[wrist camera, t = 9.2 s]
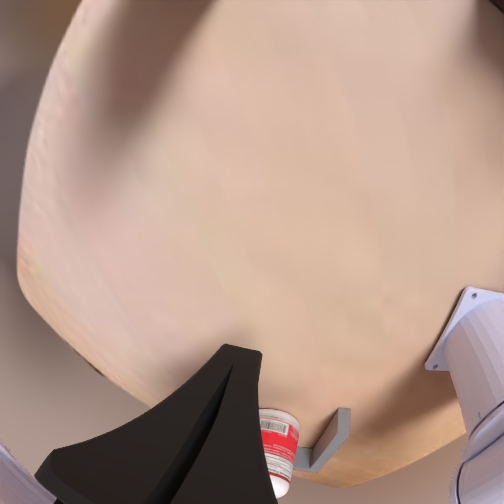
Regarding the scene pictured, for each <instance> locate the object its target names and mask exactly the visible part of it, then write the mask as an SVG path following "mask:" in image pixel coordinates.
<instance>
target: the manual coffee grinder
mask: <svg viewBox="0 0 504 504" xmlns="http://www.w3.org/2000/svg"><path fill="white" fill-rule="evenodd" d="M490 1H492V2H493V3H494V4H495V5H496V6H497V7H498V8H499V9H500V10H501V11H502V12H503V13H504V0H490Z"/></svg>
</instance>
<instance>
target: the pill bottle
mask: <svg viewBox="0 0 504 504" xmlns="http://www.w3.org/2000/svg"><path fill="white" fill-rule="evenodd" d="M259 418H260V427H261V434H262V441H263V447H264V452H265V457H266V462H267V466H268V471H269V475H270V478H271V482H272V485H273V489H274V492H275V496H276V498H279V497H282V496H283V495H285V494H286V493H287V491H288V489H289V485H290V481H291V476H292V471H293V466H294V461H295V455H296V450H297V444H298V438H299V431H300V425H299V423H298V421H297V420H296V419H295V418H294V417H293V416H292V415H290V414H288V413H286V412H283V411H280V410H274V409H259Z"/></svg>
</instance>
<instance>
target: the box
mask: <svg viewBox="0 0 504 504" xmlns="http://www.w3.org/2000/svg"><path fill="white" fill-rule="evenodd" d="M349 435H350V409H346V408H338V410H337V412H336V413H335V415H334V417H333V418H332V420H331V422H330V423H329V425H328V427H327V428H326V430H325V431H324V433H323V434H322V436H321V438H320V439H319V441H318V442H317V444H316V445H315V447H314V448H313V449H311V448H303V447H297V450H296V455H295V461H294V466H293V470H296V471H304V472H312V473H317V472H318V471H319V470H320V469H321V468H322V467H323V466H324V465H325V464H326V462H327V461H328V460H329V459H330V458H331V457H332V455H333V454H334V453H335V452H336V451H337V450H338V448H339V447H340V446H341V445H342V443H343V442H344V441H345V440H346V438H347V437H348V436H349Z"/></svg>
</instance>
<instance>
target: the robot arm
mask: <svg viewBox="0 0 504 504" xmlns="http://www.w3.org/2000/svg"><path fill="white" fill-rule="evenodd" d="M474 293H475V294H474ZM472 294H474V295H473V296H472ZM261 361H262V353H261V352H260V351H256V350H251V349H247V348H242V347H238V346H233V345H229V344H224V345H222V346H221V347H220V348H219V350H218V351H217V352H216V353H215V354H214V355H213V356H212V357H211V358H210V360H209V361H208V362H207V363H206V364H205V365H204V366H203V367H202V368H201V369H200V370H199V371H198V372H196V373H195V374H194V375H193V376H192V377H191V378H190V379H189V380H188V381H187V382H186V383H184V384H183V385H182V386H181V387H180V388H178V389H177V390H176V391H175V392H173V393H172V394H171V395H170V396H168V397H167V398H166V399H165V400H163V401H162V402H160V403H159V404H158V405H156V406H155V407H153V408H152V409H150V410H149V411H147V412H145V413H144V414H142V415H141V416H139V417H137V418H135V419H134V420H132V421H130V422H128V423H126V424H124V425H122V426H120V427H118V428H116V429H114V430H112V431H110V432H107V433H105V434H102V435H100V436H97V437H95V438H92V439H90V440H87V441H84V442H81V443H77V444H74V445H70V446H66V447H62V448H58V449H54V450H53V451H52V452H51V453H50V454H49V455H48V456H47V458H46V459H45V460H44V462H43V463H42V465H41V466H40V468H39V469H38V471H37V472H36V474H35V475H33V474H31V473H30V472H29V471H28V470H27V469H26V468H25V467H24V466H23V465H22V464H21V463H20V462H19V461H18V460H17V459H16V458H15V457H14V456H13V455H12V454H11V453H10V450H9V449H8V448H7V447H6V446H5V445H4V444H3V442H1V440H0V504H278V502H277V499H276V496H275V492H274V489H273V485H272V482H271V478H270V475H269V471H268V466H267V462H266V457H265V452H264V447H263V441H262V434H261V427H260V418H259V404H258V381H259V374H260V368H261ZM425 369H426V370H435V371H449V372H450V375H451V378H452V381H453V385H454V388H455V391H456V394H457V397H458V401H459V404H460V408H461V412H462V415H463V419H464V423H465V427H466V431H467V436H468V440H469V441H468V442H467V443H466V444H465V445H464V446H463V447H462V448H461V452H462V458H463V460H462V461H461V462H460V463H459V464H458V465H457V467H456V468H455V471H454V472H453V475H452V477H451V482H450V487H449V504H504V293H500V292H495V291H489V290H484V289H479V288H474V287H467V288H465V289H464V291H463V293H462V295H461V297H460V299H459V301H458V304H457V306H456V308H455V310H454V312H453V314H452V316H451V318H450V320H449V322H448V324H447V326H446V328H445V330H444V332H443V333H442V335H441V337H440V339H439V341H438V342H437V344H436V346H435V348H434V349H433V351H432V353H431V354H430V356H429V358H428V359H427V361H426V363H425Z"/></svg>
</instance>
